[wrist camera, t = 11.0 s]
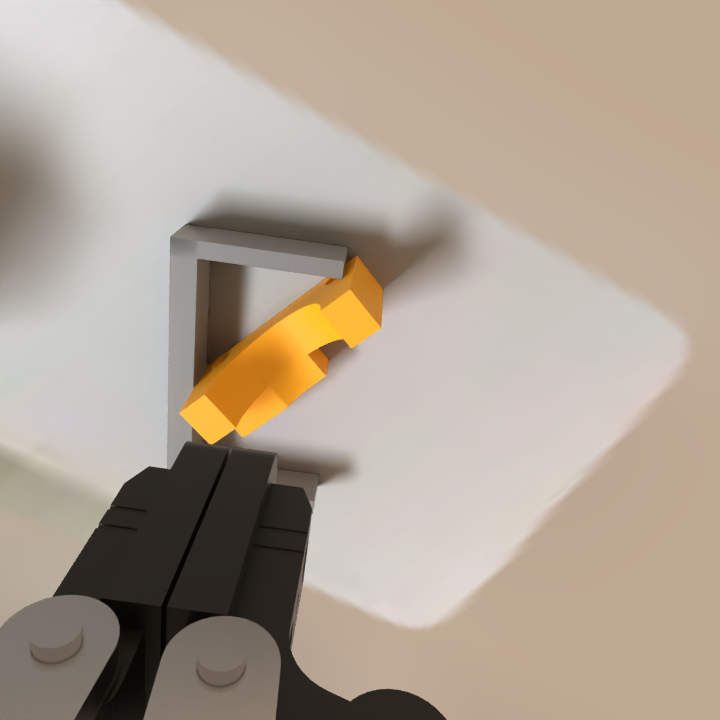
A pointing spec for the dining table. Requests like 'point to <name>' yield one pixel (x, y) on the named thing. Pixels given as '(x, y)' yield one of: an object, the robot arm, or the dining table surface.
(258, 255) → the frame
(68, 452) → the dining table surface
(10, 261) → the dining table surface
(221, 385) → the pipe clamp
